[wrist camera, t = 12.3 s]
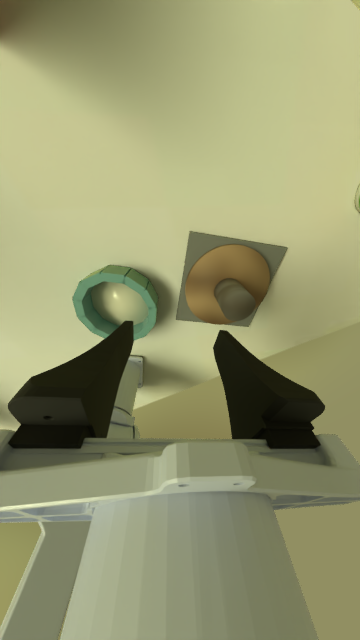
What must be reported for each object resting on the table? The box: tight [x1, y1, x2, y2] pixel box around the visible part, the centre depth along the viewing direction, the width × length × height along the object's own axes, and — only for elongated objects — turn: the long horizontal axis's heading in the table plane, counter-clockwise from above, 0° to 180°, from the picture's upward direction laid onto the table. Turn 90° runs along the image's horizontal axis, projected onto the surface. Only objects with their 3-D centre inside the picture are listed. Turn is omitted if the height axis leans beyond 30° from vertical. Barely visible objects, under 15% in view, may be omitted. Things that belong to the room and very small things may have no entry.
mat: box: [176, 232, 287, 327], centre depth 21 cm, size 12×12×1 cm
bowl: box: [72, 265, 158, 340], centre depth 21 cm, size 10×10×3 cm
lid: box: [185, 244, 270, 324], centre depth 19 cm, size 11×11×6 cm
